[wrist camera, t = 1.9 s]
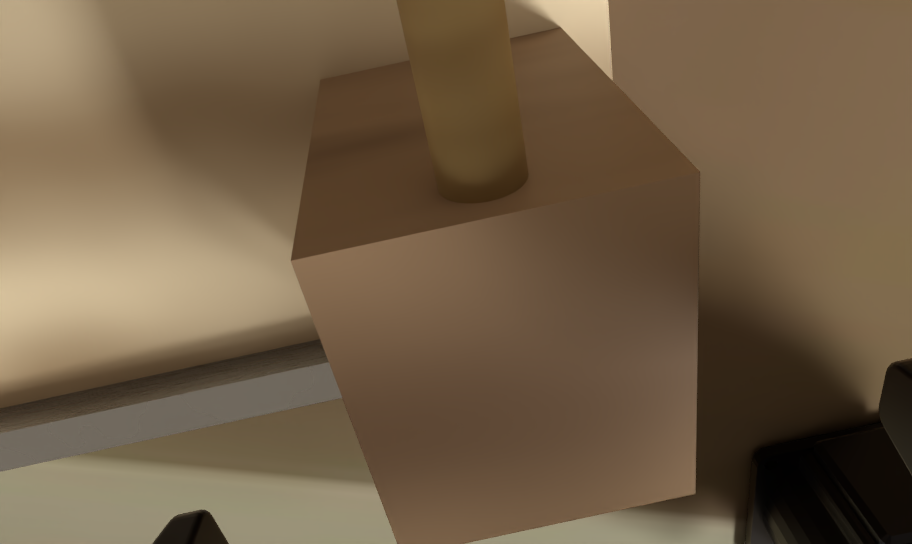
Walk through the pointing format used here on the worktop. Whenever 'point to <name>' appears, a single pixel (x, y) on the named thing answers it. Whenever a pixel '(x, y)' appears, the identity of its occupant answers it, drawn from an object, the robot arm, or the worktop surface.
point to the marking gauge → (502, 279)
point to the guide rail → (165, 404)
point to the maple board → (174, 173)
